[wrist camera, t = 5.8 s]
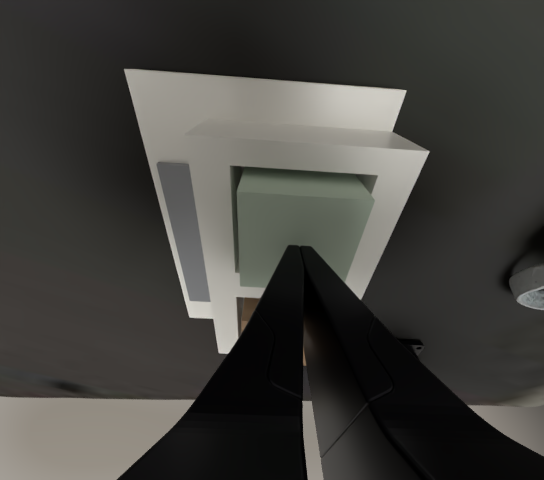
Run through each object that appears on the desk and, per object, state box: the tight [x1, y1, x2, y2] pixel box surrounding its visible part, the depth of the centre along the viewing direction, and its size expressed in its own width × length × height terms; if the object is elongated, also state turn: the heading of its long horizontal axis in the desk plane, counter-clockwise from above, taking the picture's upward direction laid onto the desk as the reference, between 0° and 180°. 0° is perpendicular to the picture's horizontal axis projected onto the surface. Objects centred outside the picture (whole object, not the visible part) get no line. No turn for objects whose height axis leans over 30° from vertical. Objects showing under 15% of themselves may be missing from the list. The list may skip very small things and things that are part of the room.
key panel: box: [124, 69, 430, 354], centre depth 13 cm, size 11×16×4 cm
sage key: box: [237, 166, 375, 288], centre depth 10 cm, size 4×4×3 cm
